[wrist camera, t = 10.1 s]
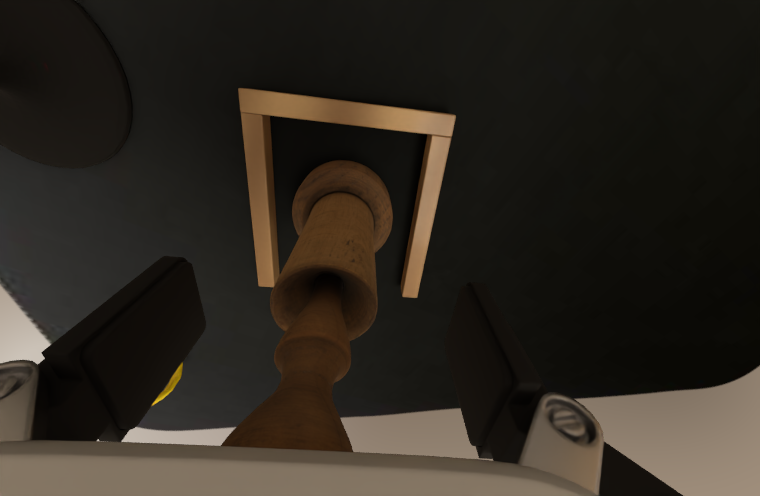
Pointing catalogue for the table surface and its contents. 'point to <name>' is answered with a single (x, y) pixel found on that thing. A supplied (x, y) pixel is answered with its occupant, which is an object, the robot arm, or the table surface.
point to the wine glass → (59, 85)
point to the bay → (270, 103)
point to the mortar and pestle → (321, 307)
